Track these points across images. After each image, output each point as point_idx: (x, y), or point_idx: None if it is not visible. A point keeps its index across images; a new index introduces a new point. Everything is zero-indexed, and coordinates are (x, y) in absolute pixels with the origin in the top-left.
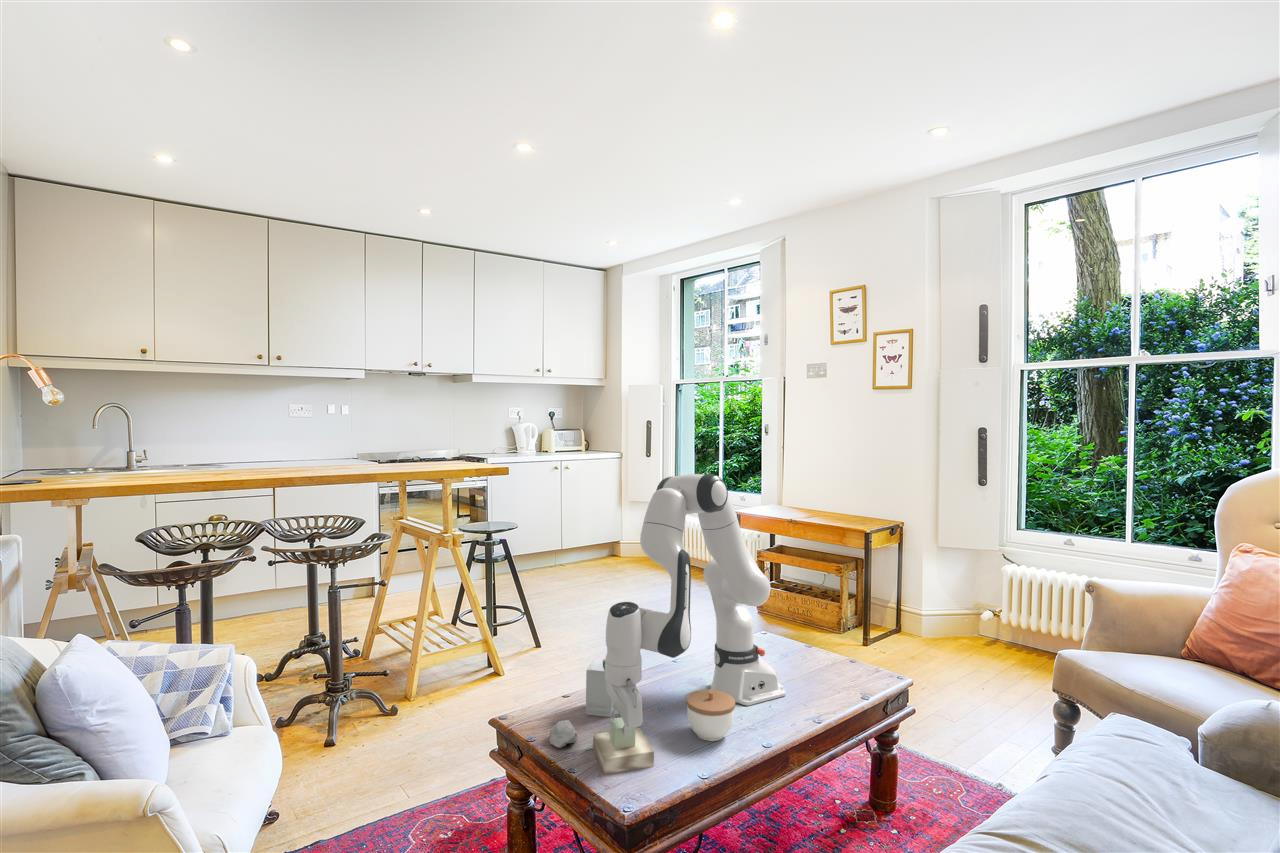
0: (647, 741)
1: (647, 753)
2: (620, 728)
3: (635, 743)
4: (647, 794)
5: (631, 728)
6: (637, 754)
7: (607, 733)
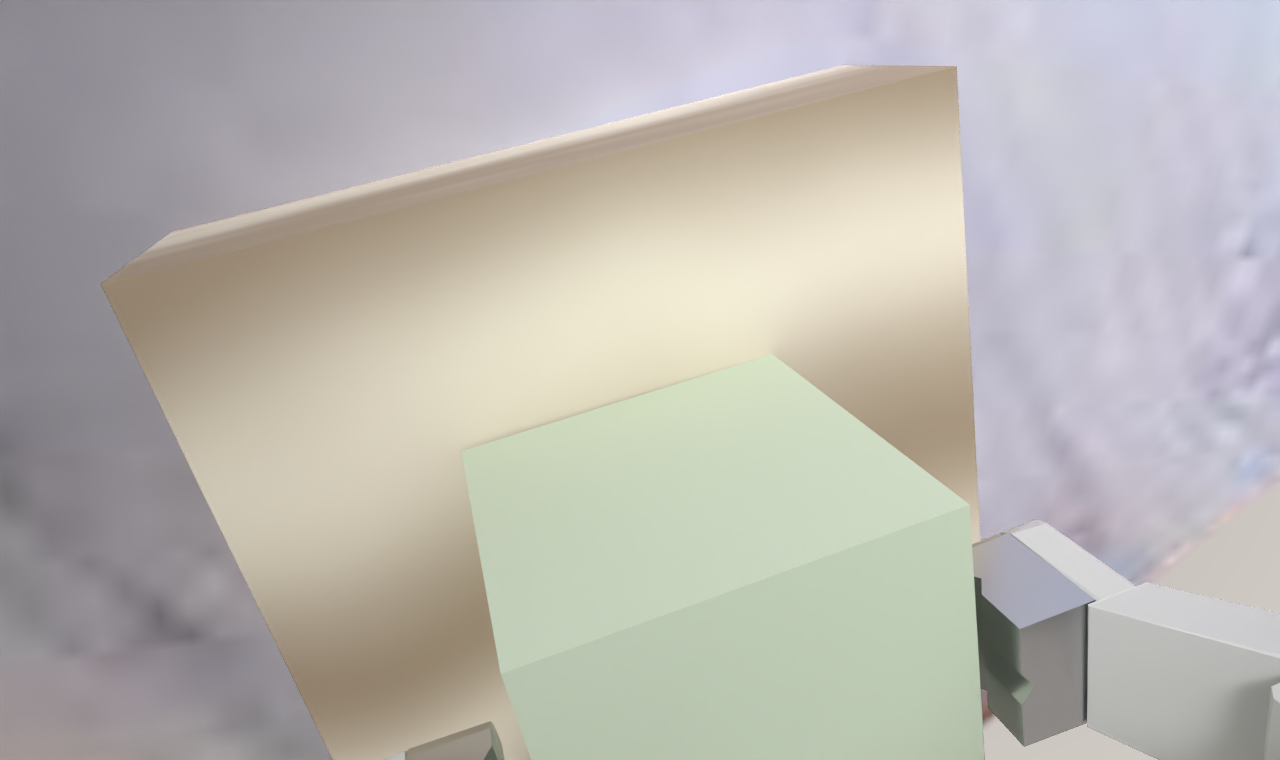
0: (647, 148)
1: (949, 171)
2: (979, 755)
3: (693, 350)
4: (1273, 187)
5: (1161, 592)
6: (966, 320)
7: (379, 753)
